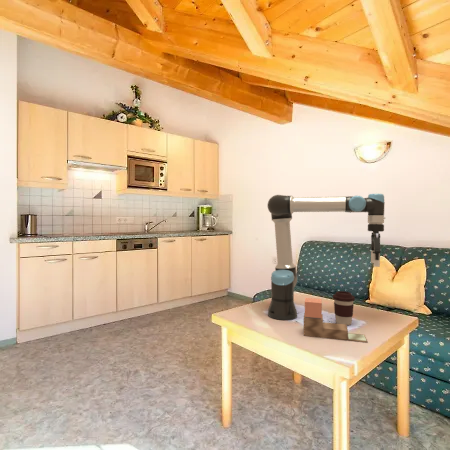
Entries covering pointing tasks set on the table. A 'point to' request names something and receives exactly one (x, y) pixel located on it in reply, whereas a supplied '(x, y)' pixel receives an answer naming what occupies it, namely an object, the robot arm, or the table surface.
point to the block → (313, 308)
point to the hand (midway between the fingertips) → (375, 264)
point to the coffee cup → (343, 307)
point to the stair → (330, 330)
